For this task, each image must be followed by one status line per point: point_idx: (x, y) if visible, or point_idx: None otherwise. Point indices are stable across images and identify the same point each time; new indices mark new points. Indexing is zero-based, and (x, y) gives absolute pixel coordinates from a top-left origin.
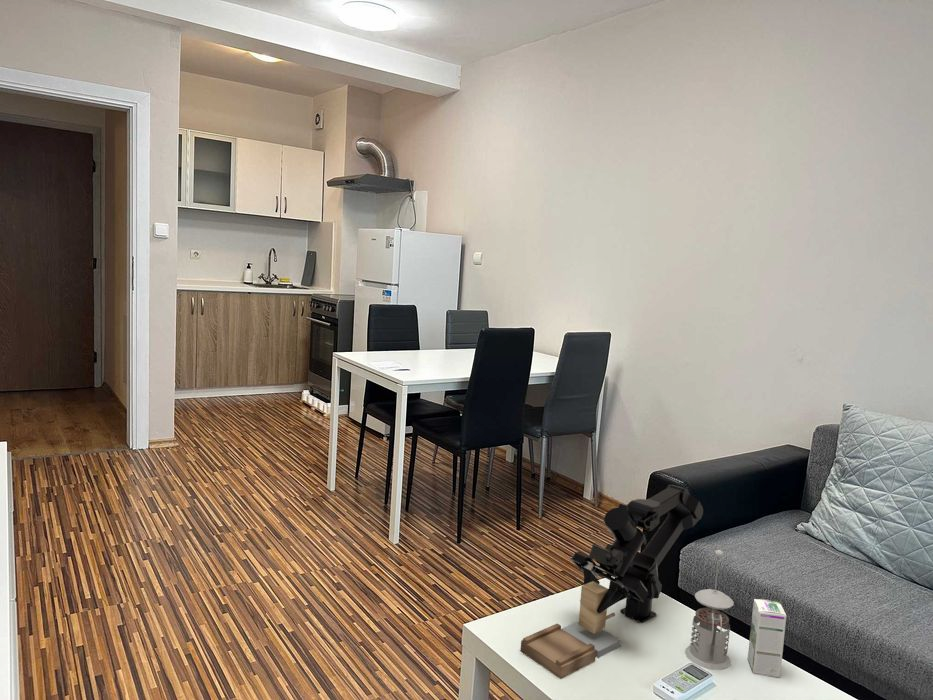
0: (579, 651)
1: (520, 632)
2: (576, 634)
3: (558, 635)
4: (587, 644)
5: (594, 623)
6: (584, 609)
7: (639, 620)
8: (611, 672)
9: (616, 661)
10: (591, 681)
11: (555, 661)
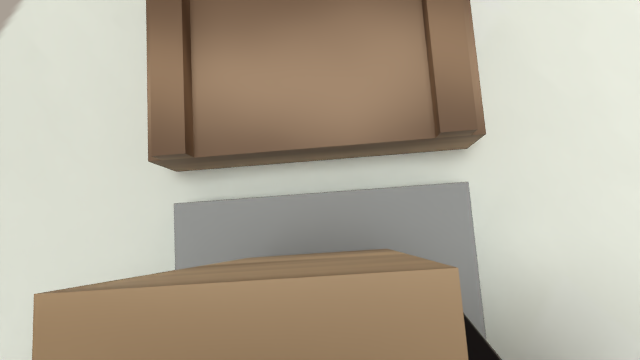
0: (162, 32)
1: (588, 4)
2: (368, 219)
3: (383, 72)
4: (255, 199)
5: (229, 261)
6: (341, 256)
7: None
8: (71, 172)
9: (114, 268)
10: (81, 39)
11: None
